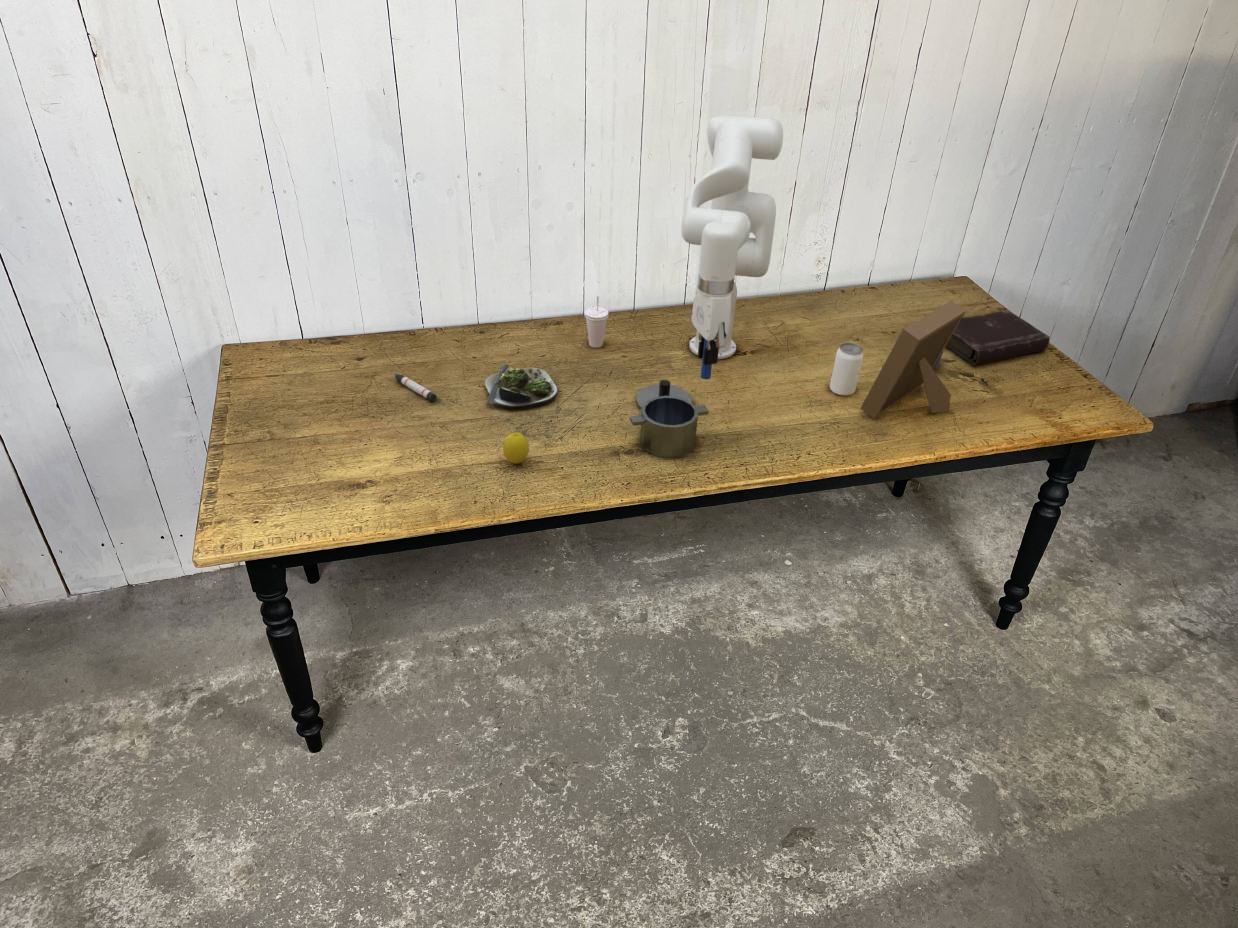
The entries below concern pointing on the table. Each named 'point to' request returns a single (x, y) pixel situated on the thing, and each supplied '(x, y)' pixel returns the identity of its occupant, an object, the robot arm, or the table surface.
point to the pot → (668, 426)
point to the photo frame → (915, 363)
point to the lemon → (515, 448)
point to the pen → (706, 366)
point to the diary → (995, 338)
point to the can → (846, 369)
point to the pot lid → (660, 392)
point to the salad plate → (520, 388)
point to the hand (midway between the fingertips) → (707, 360)
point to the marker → (416, 387)
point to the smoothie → (596, 324)
